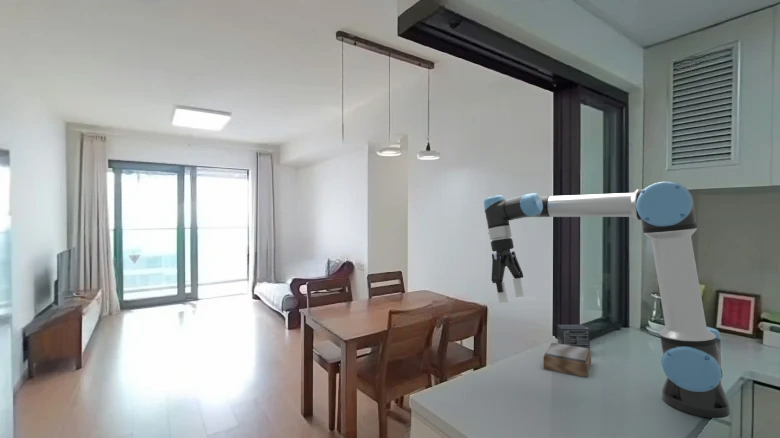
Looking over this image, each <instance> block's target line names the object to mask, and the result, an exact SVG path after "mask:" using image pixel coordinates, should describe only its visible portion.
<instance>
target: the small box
mask: <svg viewBox="0 0 780 438" xmlns="http://www.w3.org/2000/svg"><path fill="white" fill-rule="evenodd" d="M556 326H557V327H556V328H557V331H556V332H557V343H558V344H564V345H570V346H576V347H582V348H588V349H589V351H591V347H590V346H591V343H590V328H589V327H587V326H586V325H585V324H556Z"/></svg>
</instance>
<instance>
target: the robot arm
mask: <svg viewBox="0 0 780 438" xmlns="http://www.w3.org/2000/svg"><path fill="white" fill-rule="evenodd" d="M483 207H484V213H485V218H486V223H487V229H488V233H487V234H488V235H489V240H491V241H490V247H491V250H492V252H495V253H492V254H491V258H492V259H491V260H492V261H491V262H492V265H491V282H492V284H495V286H496V290H497V291H496V292H497V297H498V302H499V303H508V302H509V301H508V297H507V289H506V284H505V281H504V276H505V270H506V267H507V269H508V270H509V272H510V274H511V276H512V277H513V278H512V282H513V287H514V288H513V289H514V293H515V297H517V298H520V297H525V293H524V288H523V287H524V286H523V284H522V283H523V282H522V279H523V278H524V273H523V270H522V268H521V266H520V263H519V261H518V258H517V255H516V252H515V251H512V249H514V247H515V246H514V241H513V239H512V238H511V237H512V236H513V235H512V231H511V225H510V221H512V220H513V221H514V220H517V219H518V220H519V219H524V218H549V217H551V218H555V217H556V218H560V217H561V218H569V217H570V218H579V217H580V218H581V217H582V218H583V217H584V218H587V217H588V218H592V217H594V218H596V217H597V218H599V217H601V218H605V217H606V218H612V217H613V218H615V217H617V218H621V217H622V218H624V217H626V218H629V217H630V218H634V219H636V220H637V221H641V227H642V233H643V235H644V236H646V237H648V238H649V239H650V240H651V246H652V252H653V258H654V265H655V271H656V277H657V278H656V279H657V283H658V290H659V295H660V296H659V297H660V302H661V308H662V313H663V318H664V319H663V320H664V325H665V326H664V327H663V328H662V329H661V330H660V331H659V337H660V342H661V343H660V344H661V350H662V351H661V352H662V357H661V363H660V364H661V367H662V370H663V373H664V374H665V376H666V378H665V381H664V383H663V385H662V389H661V395H662V396H661V398H662V400H663V401H664V402H665V403H666V404H668V405H669V406H671V407H673V408H674V409H676V410H678V411H681V412H683V413H687V414H690V415H694V416H698V417H702V418H707V419H709V418H711V419H724V418H726V417H728V416H730V414H731V410H730V409H731V405H730V402H729V400H728V396H727V394H726V393H725V390H724V387H723V385H722V378H723V375H724V374H723V369H722V355H721V354H722V349H721V345H722V343H721V342H722V338H721V332H720V331H719V330H718V329H716V328H713V327H709V326H707V323H706V317H705V311H704V304H703V300H702V293H701V287H700V282H699V281H700V280H699V276H698V271H697V264H696V258H695V253H694V246H693V240H692V236H693V234H694V233H695V232H696V231H697V230H698V226H697V225H698V224H697V220H696V213H695V208H694V207H695V199H694V197H693V194H692V193H691V191H690V190H689V189H688V188H686V186H684V185H682V184H680V183H679V182H676V181H668V180H665V181H659V182H655V183H652V184H650V185H648V186H646V187H645V188H640V189H638V188H637V189H636V190H635V191H634V192H618V193H617V192H616V193H598V194H597V193H596V194H595V193H593V194H591V193H590V194H571V195H570V194H568V195H545V196H544V195H543V196H541V195H539V194H538V193H537V192H532V193H531V192H530V193H524V194H522V195H519V196H515V197H512V198H508V199H506V198H505V197H504V195H494V196H489V197H486V198H485V199H484V201H483ZM503 281H504V282H503Z"/></svg>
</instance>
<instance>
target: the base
mask: <svg viewBox="0 0 780 438" xmlns="http://www.w3.org/2000/svg"><path fill="white" fill-rule="evenodd" d="M591 364H592V350H590V351H589V349H588V348H582V347H576V346H570V345H564V344H558V342H551V343H550V345H549V346H548V348H547V350H546V351H545V352H544V355H543V370H544V369H545V370H549V371H553V372H560V373H565V374H568V375H575V376H578V377H579V376H580V377H584V378H588V376H589V372H590V368H591Z"/></svg>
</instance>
